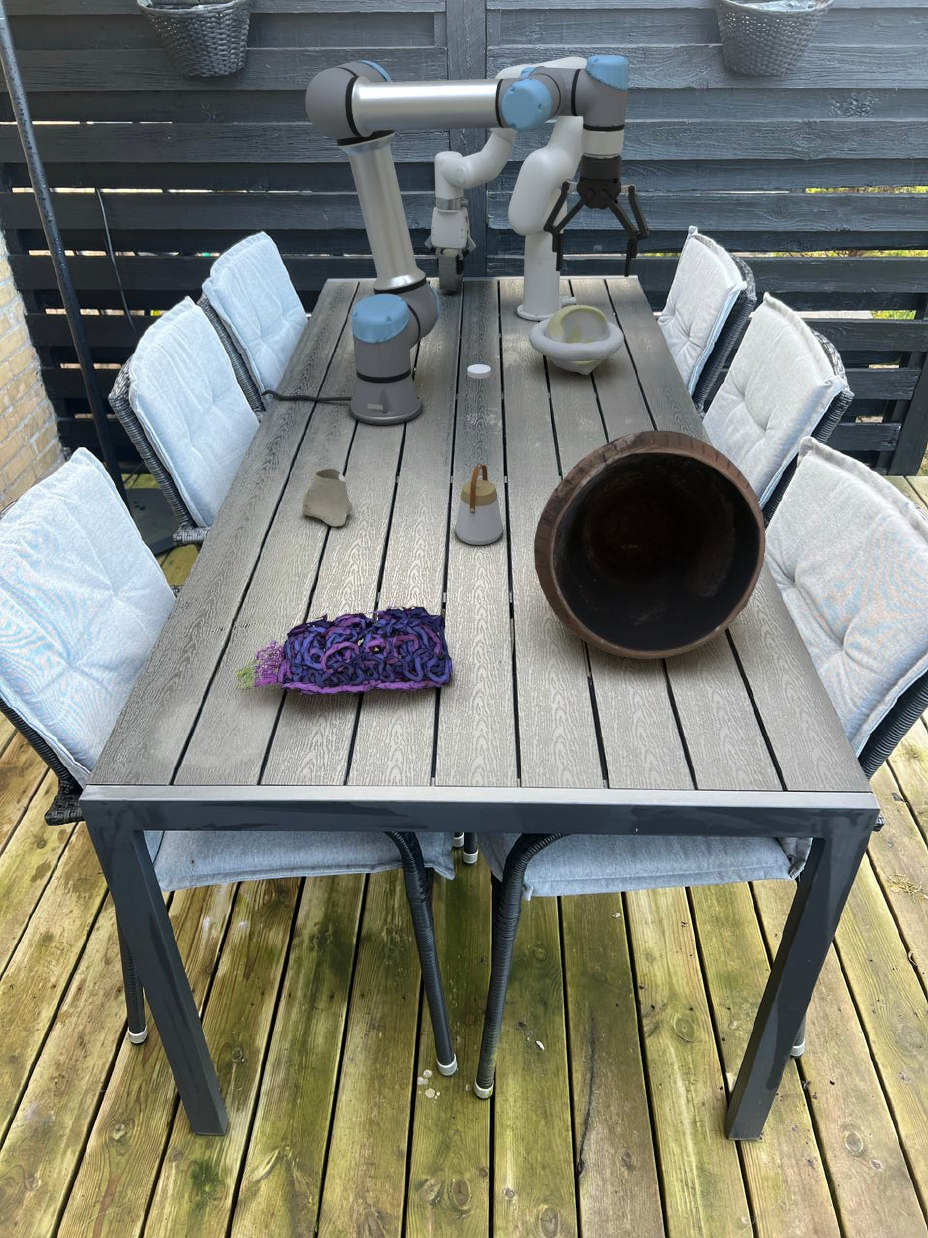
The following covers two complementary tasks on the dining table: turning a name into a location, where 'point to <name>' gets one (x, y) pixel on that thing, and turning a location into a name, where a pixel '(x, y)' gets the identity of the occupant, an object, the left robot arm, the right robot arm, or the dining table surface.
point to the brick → (449, 270)
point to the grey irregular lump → (327, 498)
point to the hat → (576, 338)
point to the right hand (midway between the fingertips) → (450, 271)
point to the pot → (650, 545)
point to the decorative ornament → (358, 654)
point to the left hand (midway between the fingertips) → (592, 272)
